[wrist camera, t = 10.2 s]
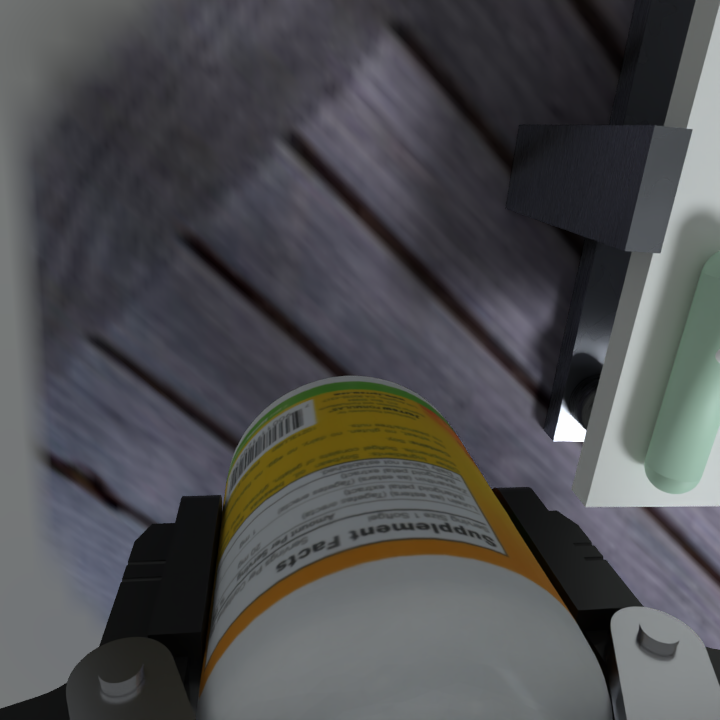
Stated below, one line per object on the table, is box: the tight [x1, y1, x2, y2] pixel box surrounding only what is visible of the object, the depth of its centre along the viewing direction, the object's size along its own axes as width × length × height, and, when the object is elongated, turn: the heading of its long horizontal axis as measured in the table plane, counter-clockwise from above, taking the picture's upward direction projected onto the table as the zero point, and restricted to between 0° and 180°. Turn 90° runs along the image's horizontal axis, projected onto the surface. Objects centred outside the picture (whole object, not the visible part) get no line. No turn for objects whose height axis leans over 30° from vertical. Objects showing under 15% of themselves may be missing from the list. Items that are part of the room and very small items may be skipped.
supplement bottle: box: [196, 376, 613, 720], centre depth 10 cm, size 5×5×10 cm
